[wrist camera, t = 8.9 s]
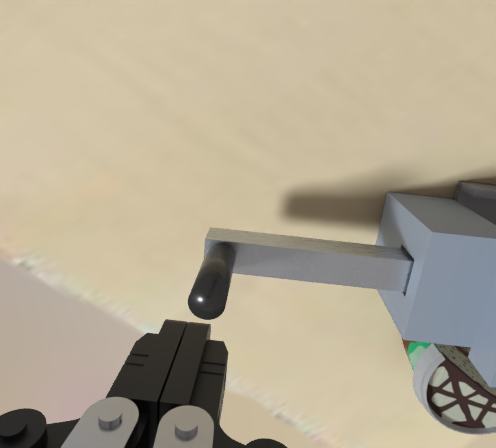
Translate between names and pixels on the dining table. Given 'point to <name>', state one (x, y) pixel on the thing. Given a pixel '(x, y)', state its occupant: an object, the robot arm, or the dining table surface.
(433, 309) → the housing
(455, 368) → the food container
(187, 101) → the dining table surface
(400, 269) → the grey lever black handle
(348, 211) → the dining table surface
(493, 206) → the tray
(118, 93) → the dining table surface
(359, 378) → the dining table surface
